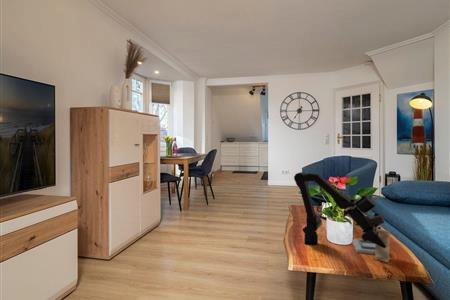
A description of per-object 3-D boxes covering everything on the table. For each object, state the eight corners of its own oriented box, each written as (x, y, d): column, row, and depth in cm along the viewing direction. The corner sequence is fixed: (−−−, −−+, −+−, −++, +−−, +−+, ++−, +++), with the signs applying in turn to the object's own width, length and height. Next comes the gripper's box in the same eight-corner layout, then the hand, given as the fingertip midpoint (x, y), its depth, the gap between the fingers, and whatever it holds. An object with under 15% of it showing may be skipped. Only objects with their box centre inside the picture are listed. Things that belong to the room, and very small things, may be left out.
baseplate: (357, 252, 125) (357, 247, 125) (352, 241, 138) (352, 237, 138) (389, 255, 121) (389, 250, 120) (381, 244, 134) (381, 239, 134)
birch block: (375, 259, 117) (375, 231, 117) (376, 255, 121) (377, 229, 121) (387, 262, 114) (388, 234, 114) (389, 258, 118) (389, 231, 117)
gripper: (369, 212, 112) (399, 242, 105) (375, 204, 126) (402, 230, 120) (350, 226, 117) (377, 256, 110) (358, 217, 132) (382, 242, 125)
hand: (385, 245), depth 116 cm, fingers closed on birch block, 5 cm apart
